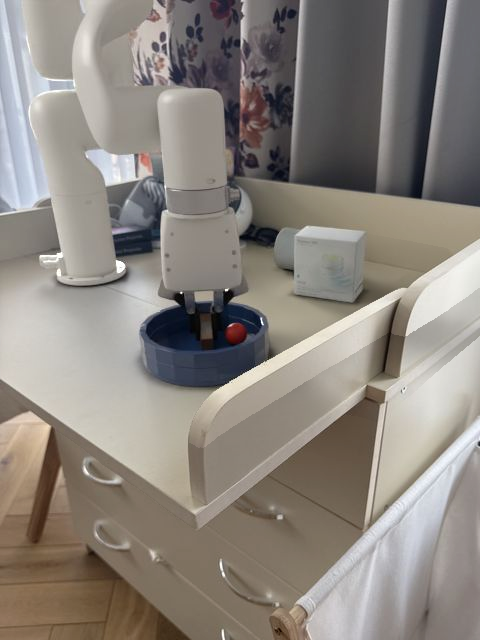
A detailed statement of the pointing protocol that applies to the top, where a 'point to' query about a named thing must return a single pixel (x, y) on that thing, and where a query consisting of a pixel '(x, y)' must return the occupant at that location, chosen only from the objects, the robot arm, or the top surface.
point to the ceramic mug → (285, 248)
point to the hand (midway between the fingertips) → (206, 335)
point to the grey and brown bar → (206, 332)
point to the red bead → (236, 333)
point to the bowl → (185, 352)
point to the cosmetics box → (329, 263)
